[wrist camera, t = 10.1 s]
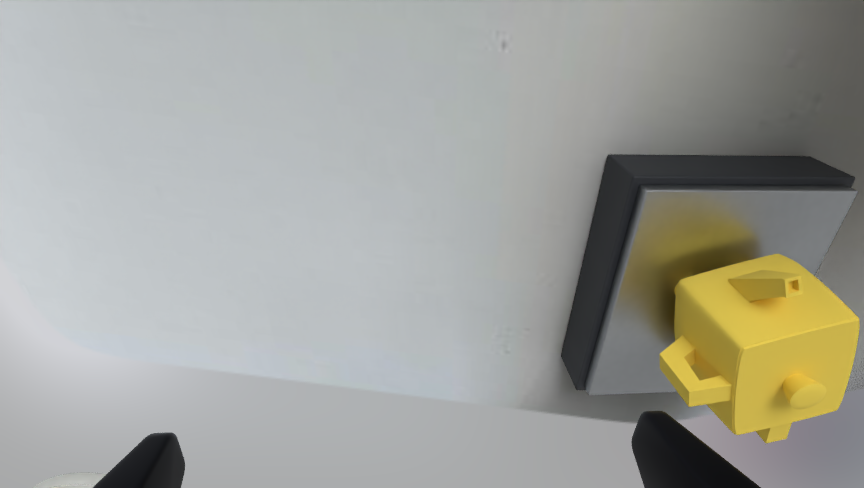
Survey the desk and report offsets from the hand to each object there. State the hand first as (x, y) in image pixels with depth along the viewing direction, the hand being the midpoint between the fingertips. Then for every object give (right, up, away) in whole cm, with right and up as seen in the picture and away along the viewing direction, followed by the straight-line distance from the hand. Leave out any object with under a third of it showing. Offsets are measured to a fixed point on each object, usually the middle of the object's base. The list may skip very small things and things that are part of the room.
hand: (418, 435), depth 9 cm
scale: (+12, +3, +14) cm, 18 cm away
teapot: (+12, +1, +11) cm, 16 cm away
